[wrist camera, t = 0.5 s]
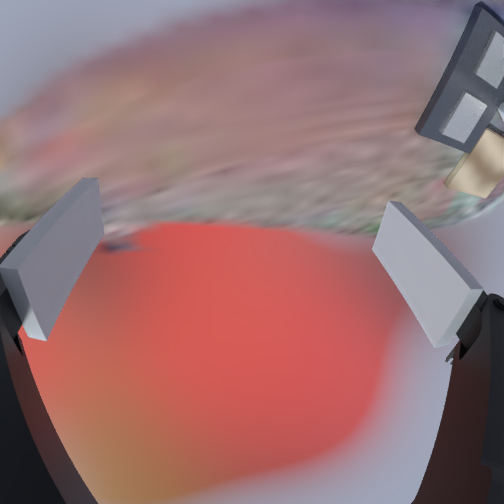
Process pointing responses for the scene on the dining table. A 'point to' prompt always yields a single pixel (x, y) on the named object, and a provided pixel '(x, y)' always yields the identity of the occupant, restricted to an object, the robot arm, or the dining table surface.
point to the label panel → (468, 86)
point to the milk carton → (501, 110)
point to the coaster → (479, 166)
